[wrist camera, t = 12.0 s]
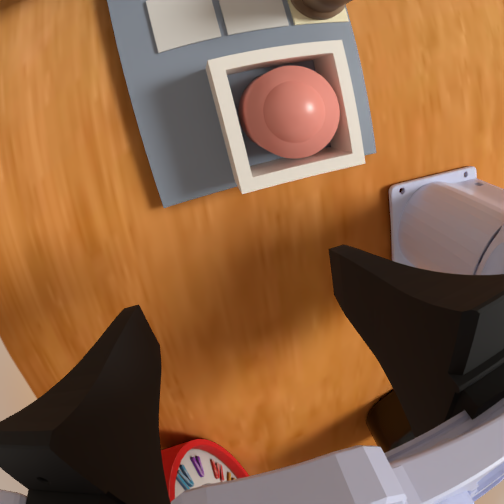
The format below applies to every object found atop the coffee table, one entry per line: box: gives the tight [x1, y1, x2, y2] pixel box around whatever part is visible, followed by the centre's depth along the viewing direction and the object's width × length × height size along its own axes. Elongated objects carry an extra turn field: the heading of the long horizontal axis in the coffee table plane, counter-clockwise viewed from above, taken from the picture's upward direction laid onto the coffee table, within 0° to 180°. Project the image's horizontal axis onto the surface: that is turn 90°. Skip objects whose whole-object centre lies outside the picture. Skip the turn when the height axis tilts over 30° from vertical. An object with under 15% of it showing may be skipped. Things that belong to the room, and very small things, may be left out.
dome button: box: [238, 65, 340, 159], centre depth 16 cm, size 5×5×4 cm
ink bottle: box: [367, 391, 415, 453], centre depth 29 cm, size 10×9×12 cm
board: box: [107, 0, 376, 208], centre depth 15 cm, size 14×16×4 cm
